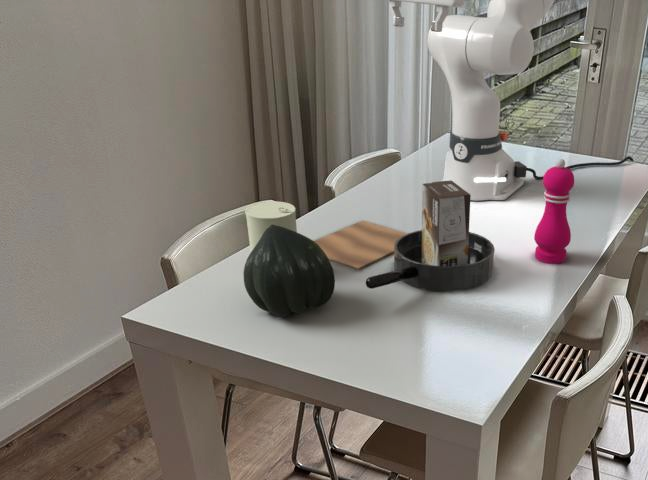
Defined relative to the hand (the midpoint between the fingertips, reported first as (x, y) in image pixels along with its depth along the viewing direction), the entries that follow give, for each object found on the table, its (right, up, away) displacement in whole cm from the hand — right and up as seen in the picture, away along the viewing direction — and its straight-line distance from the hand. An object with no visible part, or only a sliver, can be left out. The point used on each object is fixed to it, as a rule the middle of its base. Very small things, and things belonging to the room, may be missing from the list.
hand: (417, 29), depth 152 cm
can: (-27, -48, -4) cm, 55 cm away
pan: (+5, -48, -3) cm, 49 cm away
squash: (-21, -57, -18) cm, 63 cm away
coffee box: (+5, -48, -3) cm, 49 cm away
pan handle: (-4, -53, -15) cm, 55 cm away
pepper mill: (+27, -45, +4) cm, 52 cm away
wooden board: (-12, -41, +6) cm, 44 cm away
